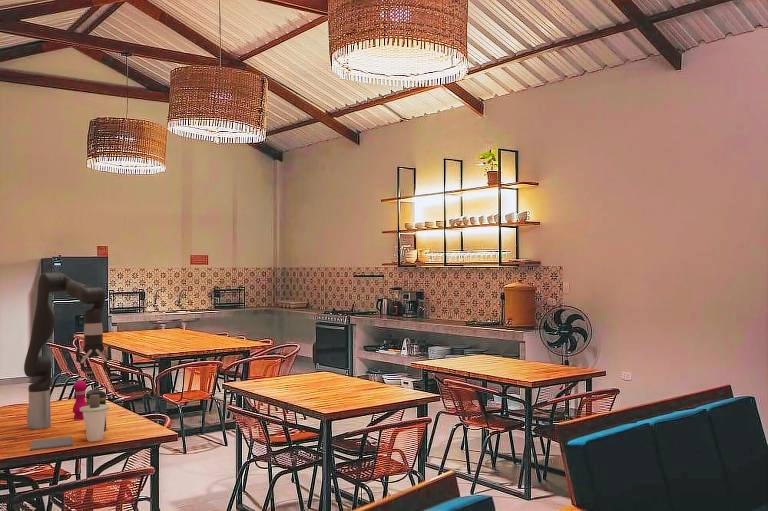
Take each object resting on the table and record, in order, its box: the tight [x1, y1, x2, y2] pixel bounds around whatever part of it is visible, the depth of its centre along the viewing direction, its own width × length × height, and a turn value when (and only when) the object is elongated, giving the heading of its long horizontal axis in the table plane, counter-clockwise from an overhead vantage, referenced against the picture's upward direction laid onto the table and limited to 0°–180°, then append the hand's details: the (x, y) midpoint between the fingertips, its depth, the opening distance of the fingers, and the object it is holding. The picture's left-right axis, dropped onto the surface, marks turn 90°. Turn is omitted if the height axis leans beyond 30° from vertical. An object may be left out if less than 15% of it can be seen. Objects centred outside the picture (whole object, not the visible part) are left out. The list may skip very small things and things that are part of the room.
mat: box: [29, 436, 74, 451], centre depth 311 cm, size 16×16×1 cm
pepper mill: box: [72, 377, 88, 421], centre depth 363 cm, size 7×7×20 cm
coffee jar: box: [85, 388, 107, 431], centre depth 335 cm, size 10×8×19 cm
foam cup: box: [83, 410, 107, 442], centre depth 318 cm, size 10×9×13 cm
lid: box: [80, 395, 110, 412], centre depth 318 cm, size 12×12×6 cm
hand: (94, 370), depth 318 cm, fingers open, 8 cm apart
